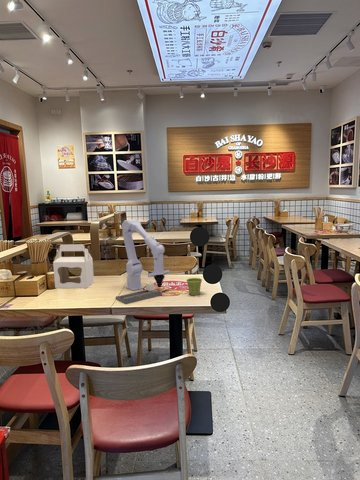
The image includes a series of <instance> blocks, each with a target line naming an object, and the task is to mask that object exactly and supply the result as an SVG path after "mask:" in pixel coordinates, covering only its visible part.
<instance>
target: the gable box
mask: <svg viewBox="0 0 360 480" xmlns="http://www.w3.org/2000/svg"><path fill="white" fill-rule="evenodd" d="M62 252H63V253H64V252H83V254H84V256H62ZM93 259H94V258H93V257H92V256H91V253H90V252H89V248H86V245H85V244H82V243H77V244H76V243H74V244H69V243H67V244H60V246H59V248H58V249H56V254H55V257H54V259H53V261H52V263H53V264H52V266H53V277H54V278H53V279H54V280H53V281H54V288H55V289H88V288H90V286H92V285H93V284H94V283H95V279H94V276H95V275H94V264H93V263H94V262H93V261H94V260H93ZM68 268H73V269H74V268H80V269H81V273H80V276H77V277H72V278H71V277H70V276H69V274H70V273H69V269H68Z"/></svg>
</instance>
